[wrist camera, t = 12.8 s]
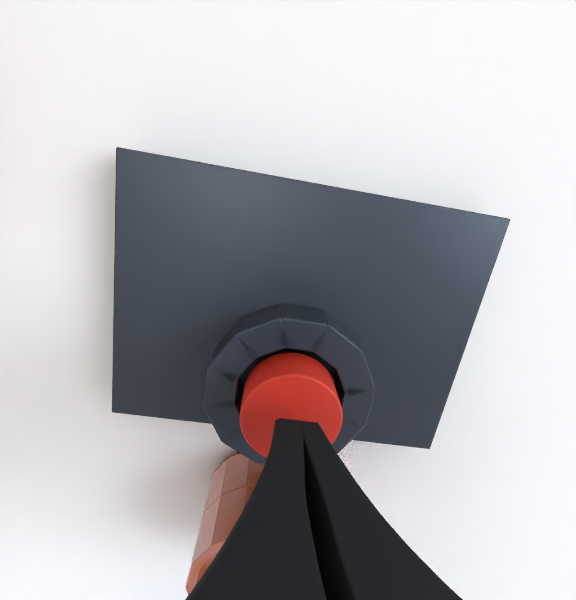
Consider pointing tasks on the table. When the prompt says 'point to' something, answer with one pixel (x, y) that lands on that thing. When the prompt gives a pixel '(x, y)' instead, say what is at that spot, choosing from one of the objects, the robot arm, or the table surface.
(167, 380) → the console
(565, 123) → the table surface
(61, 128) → the table surface
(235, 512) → the cup
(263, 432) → the button
